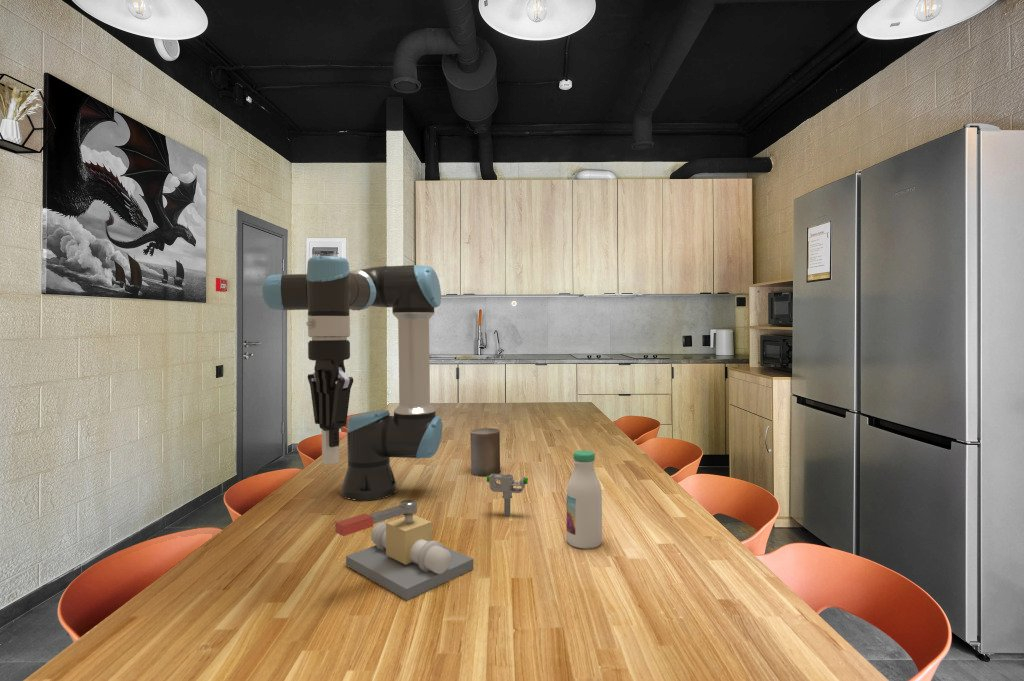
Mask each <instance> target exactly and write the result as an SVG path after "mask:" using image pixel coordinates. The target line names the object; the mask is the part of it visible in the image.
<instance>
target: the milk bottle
mask: <svg viewBox="0 0 1024 681" xmlns="http://www.w3.org/2000/svg"><path fill="white" fill-rule="evenodd" d="M595 454H596V453H595V452H594V451H592V450H583V449H582V450H580V449H579V450H575V451H574V452H573V455H572V456H573V463H574V467H573V470H572V473H571V476H570V478H569V480H568V483H567V488H566V541H567V544H568V545H570V546H571V547H574V548H577V549H583V550H585V549H587V550H589V549H594V548H597V547H599V546H601V544H602V540H603V504H602V503H603V499H602V498H603V496H602V488H601V484H600V480H599V478H598V476H597V474H596V470H595V465H594V464H595V462H596V461H595V458H596V456H595Z"/></svg>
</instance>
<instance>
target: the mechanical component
mask: <svg viewBox="0 0 1024 681" xmlns="http://www.w3.org/2000/svg"><path fill="white" fill-rule="evenodd" d="M497 481H499V483H498V482H497ZM486 482H487V483H489V489H490V490H491V492H496V493H502V496H501V498H503V506H504V507H503V510H504V511H503V514H504V517H510V515H511V499H513V494H520V493H522V492H523V491H524V489H525V487H526V485H528V482H529V480H528V477H526V476H521V477H520V480H519V481H516V479H515V478H514V475H513V474H507V473H506V474H505V473H504V474H503V473H499V474H491V475H490V476H486ZM514 486H515V487H514ZM517 487H519V488H517ZM520 487H521V488H520Z"/></svg>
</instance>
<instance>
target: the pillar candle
mask: <svg viewBox="0 0 1024 681" xmlns="http://www.w3.org/2000/svg"><path fill="white" fill-rule="evenodd" d="M469 432H470V436H469V437H470V470H471V474H472V475H474V476H477V475H478V476H477V477H487V476H490V475H491V474H501V436H500V435H501V434H500V433H501V432H500V429H498V428H495V427H487V426H485V427H483V428H481V427H480V428H474V429H471V430H470V431H469Z"/></svg>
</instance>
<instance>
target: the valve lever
mask: <svg viewBox="0 0 1024 681" xmlns="http://www.w3.org/2000/svg"><path fill="white" fill-rule="evenodd" d="M417 513H418V502H417V500H415V499H404V500H401V501H400V504H399V505H395V506H392V507H389V508H386V509H383V510H379V511H375V512H372V513H369V514H367V513H362V514H358V515H355V516H352V517H348V518H345V519H341V520H339V521H336V522H335V528H334V529H335V533H336V534H338V535H340V536H342V537H345V536H348V535H351V534H354V533H358V532H361V531H363V530H367V529H370V528H372V527H373V528H374V524H379V523H382V522H384V521H387V520H390V519H393V518H396V517H400V516H402V515H403V516H405V515H415V514H417Z"/></svg>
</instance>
